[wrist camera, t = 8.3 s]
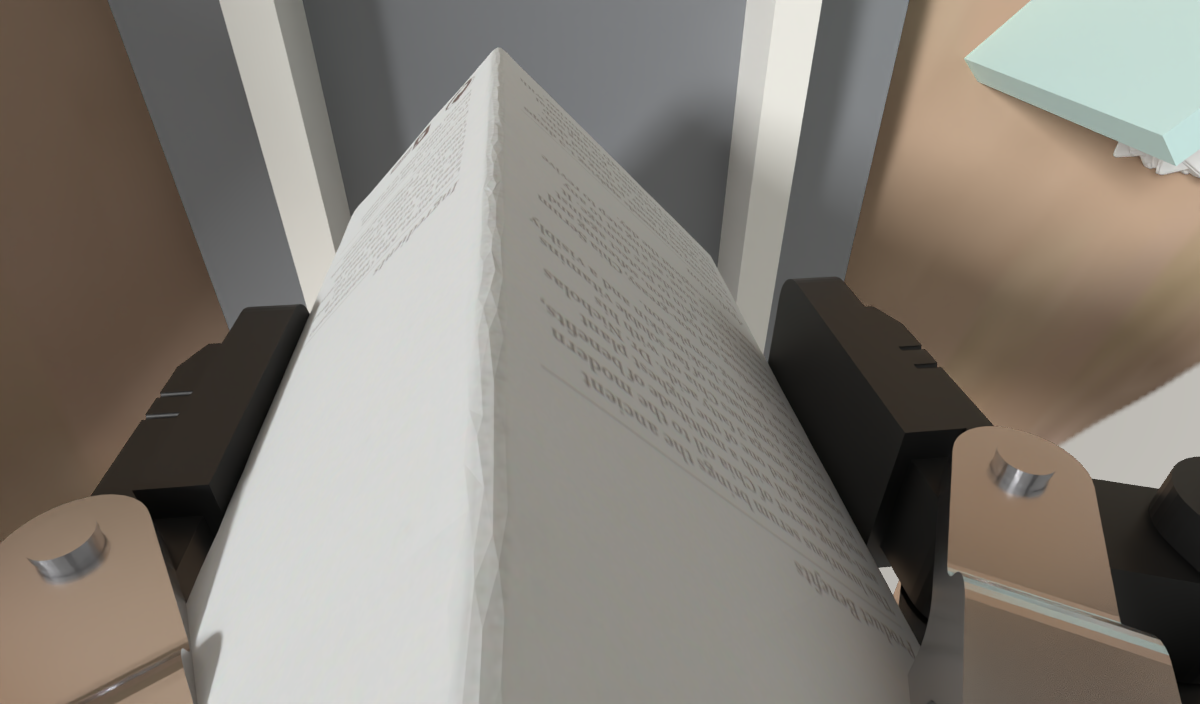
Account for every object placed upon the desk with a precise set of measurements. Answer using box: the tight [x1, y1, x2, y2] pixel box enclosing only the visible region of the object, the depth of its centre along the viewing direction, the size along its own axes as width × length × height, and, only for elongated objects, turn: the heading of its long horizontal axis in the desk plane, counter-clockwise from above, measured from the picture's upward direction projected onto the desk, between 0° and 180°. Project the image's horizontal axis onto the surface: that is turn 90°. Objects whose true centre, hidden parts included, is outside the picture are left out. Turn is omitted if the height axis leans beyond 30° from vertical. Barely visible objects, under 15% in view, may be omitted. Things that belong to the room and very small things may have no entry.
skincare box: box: [186, 47, 920, 704], centre depth 9 cm, size 6×4×12 cm
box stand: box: [108, 0, 909, 363], centre depth 17 cm, size 18×14×4 cm
